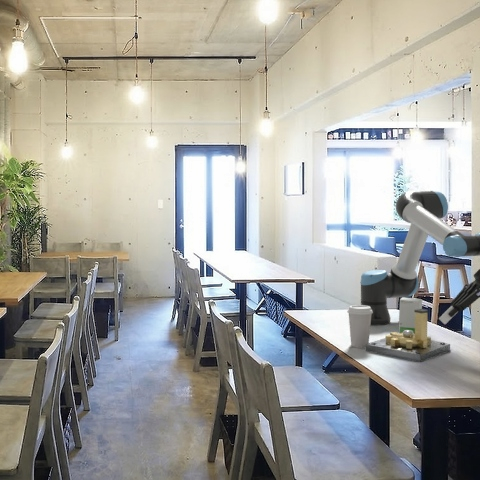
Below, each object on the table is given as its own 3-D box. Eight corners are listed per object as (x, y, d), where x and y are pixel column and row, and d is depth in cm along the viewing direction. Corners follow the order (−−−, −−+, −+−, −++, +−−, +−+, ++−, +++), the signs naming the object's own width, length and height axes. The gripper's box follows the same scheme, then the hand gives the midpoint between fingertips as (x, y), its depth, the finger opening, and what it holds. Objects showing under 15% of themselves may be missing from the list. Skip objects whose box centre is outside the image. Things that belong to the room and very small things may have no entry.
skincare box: (398, 337, 236) (398, 299, 235) (400, 334, 242) (401, 296, 241) (419, 339, 232) (420, 300, 231) (421, 335, 238) (422, 298, 237)
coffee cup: (373, 343, 226) (374, 305, 225) (371, 349, 217) (371, 309, 216) (349, 341, 229) (349, 304, 228) (345, 347, 220) (345, 308, 219)
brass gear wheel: (376, 341, 217) (376, 306, 216) (406, 336, 226) (406, 302, 225) (409, 350, 204) (410, 313, 203) (440, 344, 212) (440, 308, 211)
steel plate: (397, 340, 230) (397, 322, 230) (450, 350, 215) (450, 330, 214) (365, 350, 215) (365, 331, 214) (420, 362, 199) (420, 341, 199)
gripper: (504, 284, 201) (455, 332, 202) (488, 280, 214) (442, 325, 215) (489, 269, 201) (440, 317, 202) (474, 265, 214) (428, 311, 215)
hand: (441, 321), depth 208 cm, fingers closed
